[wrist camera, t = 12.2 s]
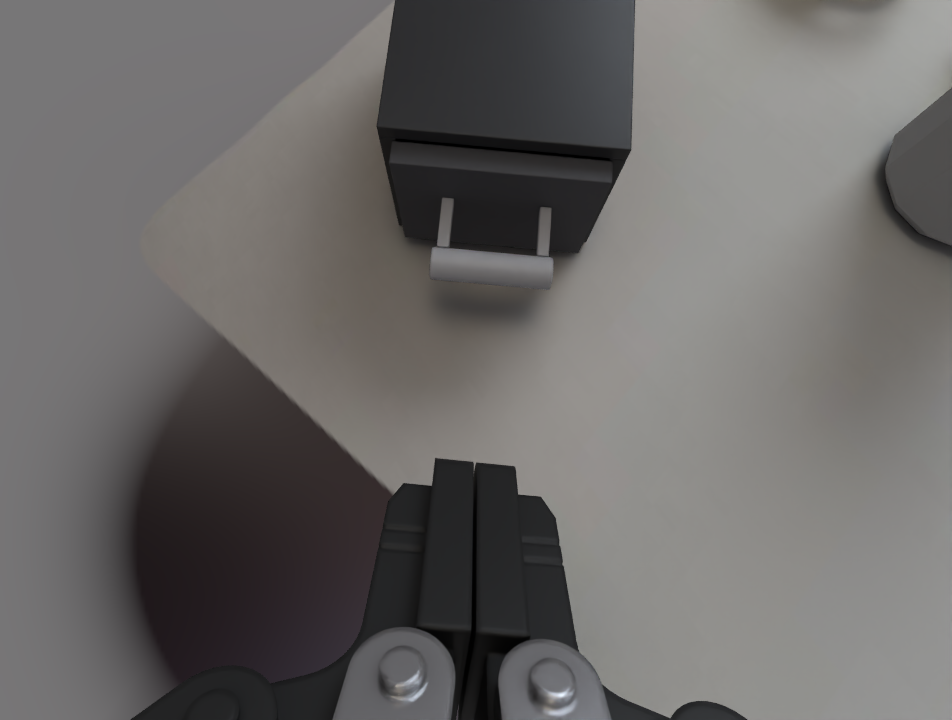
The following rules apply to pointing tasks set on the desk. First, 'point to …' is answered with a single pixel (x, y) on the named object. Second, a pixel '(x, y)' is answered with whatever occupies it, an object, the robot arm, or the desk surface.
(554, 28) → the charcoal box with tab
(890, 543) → the desk surface
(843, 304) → the desk surface
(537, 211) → the drawer
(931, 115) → the jar
